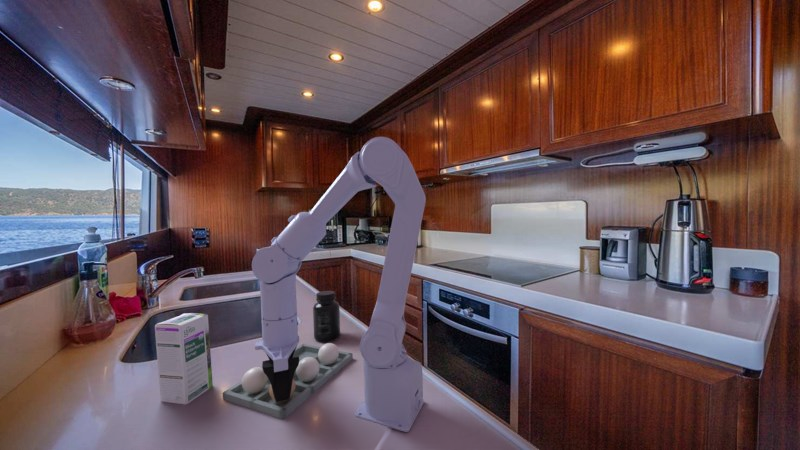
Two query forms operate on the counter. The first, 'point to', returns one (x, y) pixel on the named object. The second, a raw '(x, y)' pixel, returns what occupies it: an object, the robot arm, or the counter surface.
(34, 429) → the counter surface
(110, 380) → the counter surface
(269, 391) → the brown egg
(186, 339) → the syrup box
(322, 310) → the supplement bottle
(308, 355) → the egg carton
